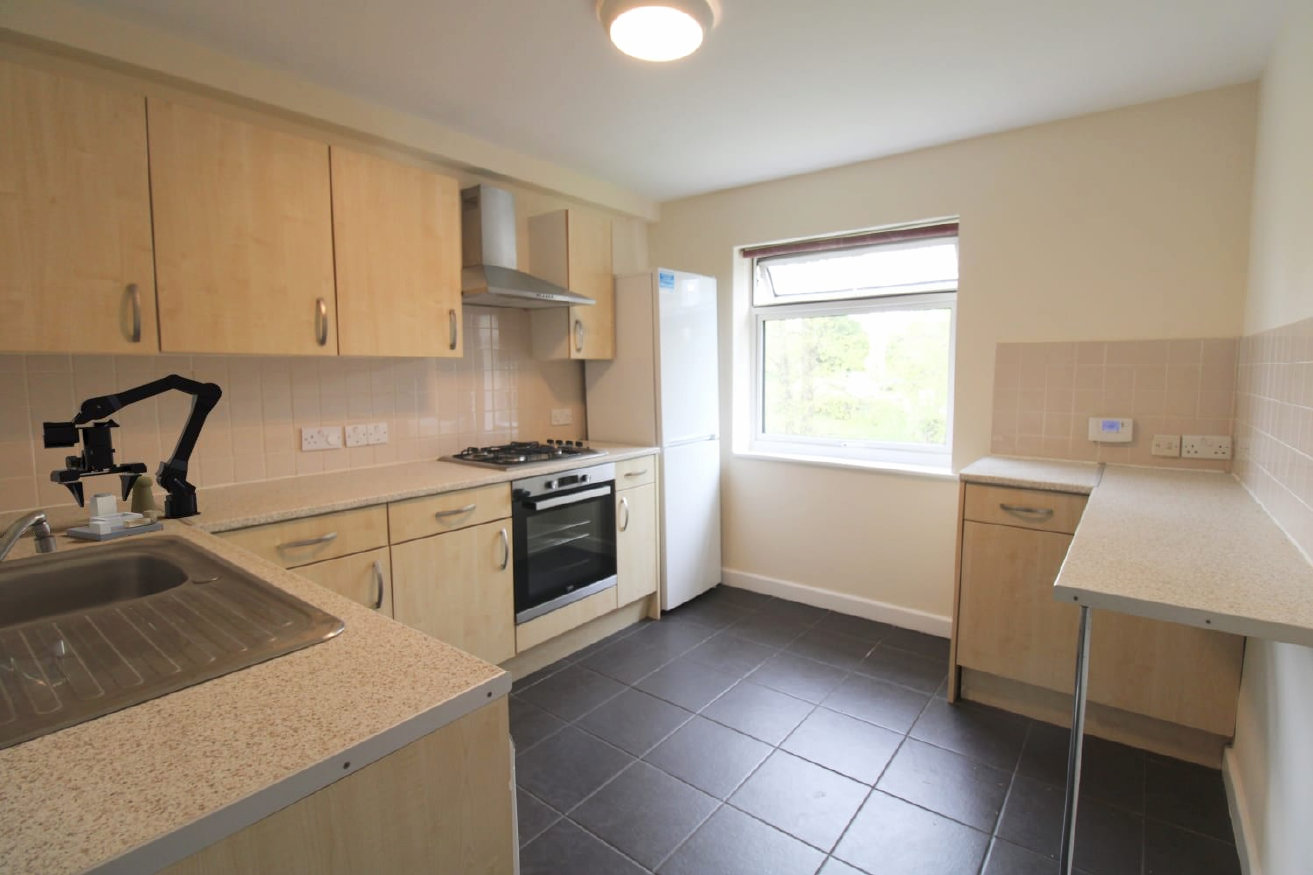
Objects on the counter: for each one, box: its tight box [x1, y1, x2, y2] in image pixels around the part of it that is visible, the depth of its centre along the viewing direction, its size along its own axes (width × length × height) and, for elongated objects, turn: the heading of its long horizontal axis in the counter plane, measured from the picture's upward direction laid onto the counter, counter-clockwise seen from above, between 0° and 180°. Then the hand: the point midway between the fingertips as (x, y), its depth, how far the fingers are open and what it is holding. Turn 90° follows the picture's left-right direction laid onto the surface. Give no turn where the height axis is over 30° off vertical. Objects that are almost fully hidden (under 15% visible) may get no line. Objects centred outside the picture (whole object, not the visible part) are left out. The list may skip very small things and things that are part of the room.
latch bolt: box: [123, 510, 159, 527], centre depth 159 cm, size 6×3×3 cm, turn 154°
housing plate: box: [65, 511, 165, 542], centre depth 159 cm, size 13×17×4 cm
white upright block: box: [89, 492, 118, 518], centre depth 167 cm, size 4×4×9 cm
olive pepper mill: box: [130, 475, 158, 515], centre depth 182 cm, size 6×6×11 cm
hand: (103, 504), depth 167 cm, fingers open, 9 cm apart
